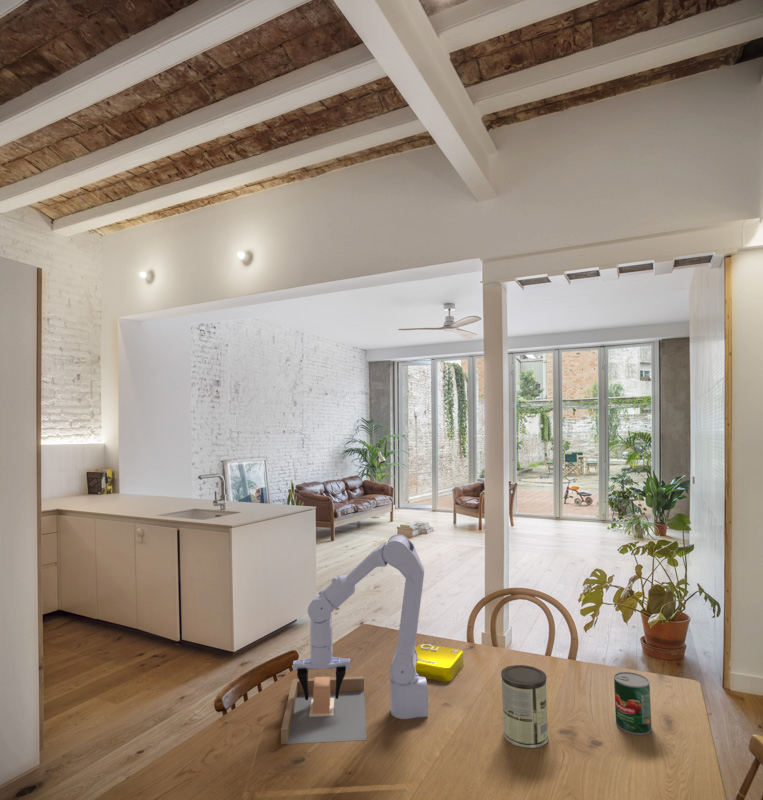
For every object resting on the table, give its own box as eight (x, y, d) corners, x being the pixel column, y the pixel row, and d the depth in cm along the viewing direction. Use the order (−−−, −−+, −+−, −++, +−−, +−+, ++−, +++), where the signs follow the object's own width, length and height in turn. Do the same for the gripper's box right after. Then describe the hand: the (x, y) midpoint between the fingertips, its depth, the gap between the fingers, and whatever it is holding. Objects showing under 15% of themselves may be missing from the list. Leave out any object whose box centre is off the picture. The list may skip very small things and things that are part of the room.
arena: (363, 691, 151) (363, 676, 151) (366, 743, 126) (366, 725, 126) (292, 694, 150) (292, 679, 150) (280, 747, 125) (280, 729, 125)
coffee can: (505, 721, 135) (503, 662, 135) (549, 728, 131) (547, 667, 132) (500, 744, 125) (498, 680, 126) (547, 752, 121) (545, 686, 122)
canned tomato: (652, 722, 133) (650, 675, 134) (651, 738, 126) (649, 689, 127) (617, 714, 137) (615, 669, 137) (613, 730, 130) (612, 682, 131)
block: (329, 713, 138) (329, 688, 138) (313, 714, 138) (313, 689, 138) (330, 699, 145) (330, 676, 145) (315, 700, 145) (314, 677, 145)
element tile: (401, 675, 162) (400, 658, 162) (419, 656, 175) (419, 640, 176) (449, 684, 155) (449, 667, 156) (465, 664, 169) (464, 648, 169)
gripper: (349, 636, 146) (350, 689, 146) (294, 638, 146) (295, 691, 145) (349, 647, 139) (350, 702, 139) (292, 649, 139) (292, 704, 138)
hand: (322, 697), depth 141 cm, fingers open, 7 cm apart
